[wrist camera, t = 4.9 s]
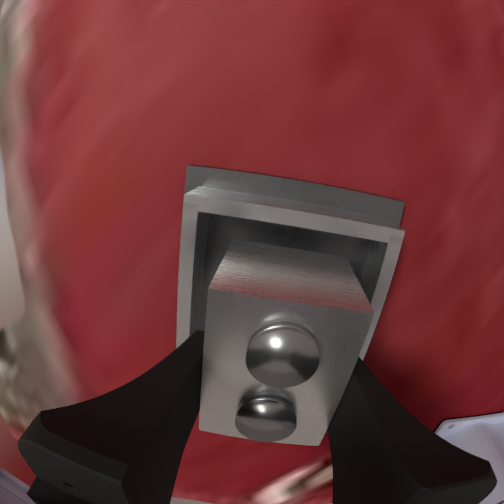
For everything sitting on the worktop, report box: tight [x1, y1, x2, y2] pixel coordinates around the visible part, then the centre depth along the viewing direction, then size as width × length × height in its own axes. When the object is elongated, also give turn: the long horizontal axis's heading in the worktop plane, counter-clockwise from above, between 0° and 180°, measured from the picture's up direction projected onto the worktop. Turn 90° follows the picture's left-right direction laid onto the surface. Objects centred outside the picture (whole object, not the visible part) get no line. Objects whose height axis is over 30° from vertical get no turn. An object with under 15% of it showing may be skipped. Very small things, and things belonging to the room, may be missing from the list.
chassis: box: [176, 165, 405, 361], centre depth 15 cm, size 10×12×3 cm
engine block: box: [199, 239, 374, 446], centre depth 11 cm, size 4×6×5 cm
